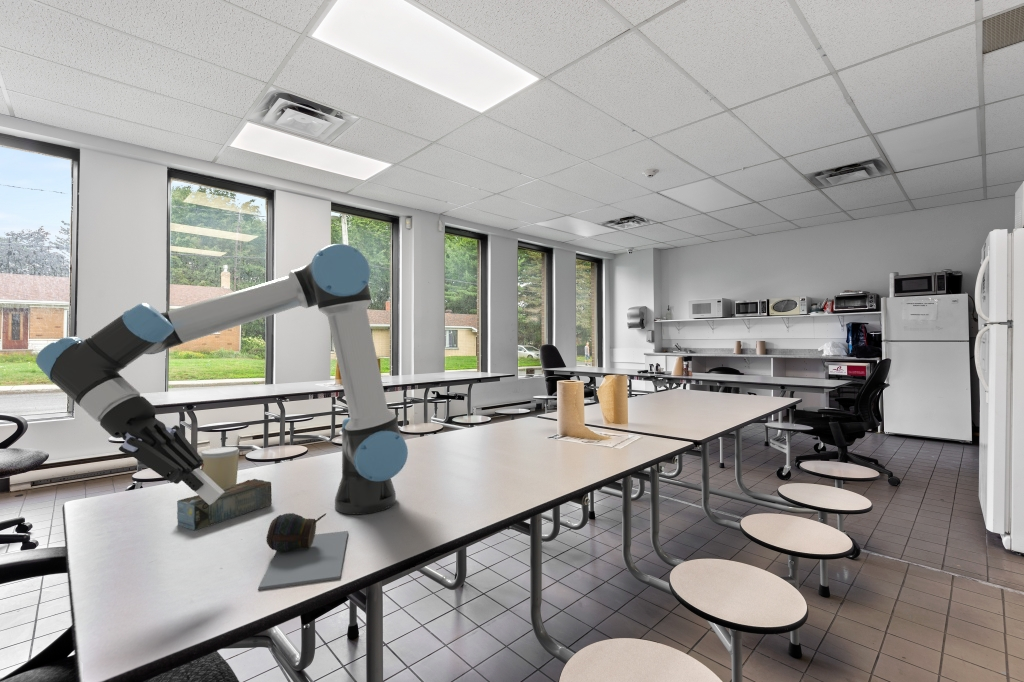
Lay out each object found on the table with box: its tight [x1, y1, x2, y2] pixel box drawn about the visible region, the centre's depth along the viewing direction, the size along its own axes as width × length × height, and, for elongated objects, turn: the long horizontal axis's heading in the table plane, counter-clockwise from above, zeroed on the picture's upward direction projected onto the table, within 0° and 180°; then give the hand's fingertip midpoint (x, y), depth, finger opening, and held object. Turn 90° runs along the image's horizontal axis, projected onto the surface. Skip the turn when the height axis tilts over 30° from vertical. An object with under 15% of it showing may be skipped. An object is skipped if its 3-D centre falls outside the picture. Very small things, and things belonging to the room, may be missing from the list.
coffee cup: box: [199, 446, 240, 488], centre depth 128 cm, size 9×9×12 cm
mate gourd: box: [266, 512, 327, 552], centre depth 91 cm, size 7×8×10 cm
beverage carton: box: [176, 478, 273, 531], centre depth 112 cm, size 8×19×7 cm, turn 152°
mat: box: [257, 530, 349, 591], centre depth 88 cm, size 13×20×1 cm, turn 16°
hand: (217, 498), depth 83 cm, fingers closed
